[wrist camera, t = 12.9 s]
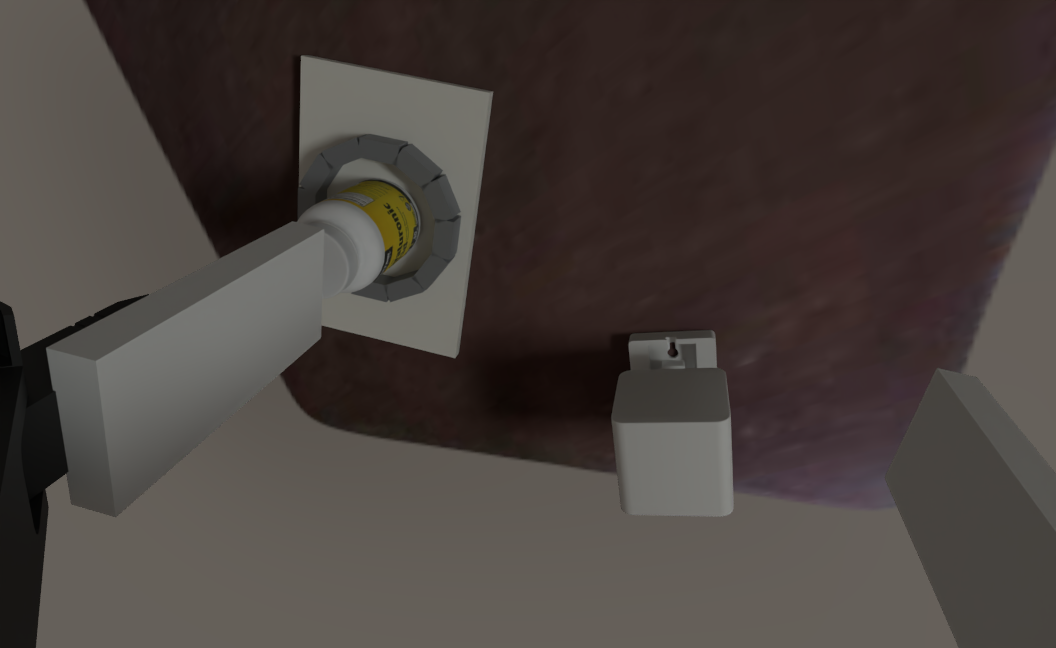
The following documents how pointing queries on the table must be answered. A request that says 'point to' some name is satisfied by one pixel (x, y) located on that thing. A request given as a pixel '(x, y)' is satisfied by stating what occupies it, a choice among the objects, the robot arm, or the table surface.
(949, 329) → the table surface
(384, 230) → the supplement bottle
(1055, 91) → the table surface
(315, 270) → the robot arm
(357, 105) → the socket board
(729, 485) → the security camera
